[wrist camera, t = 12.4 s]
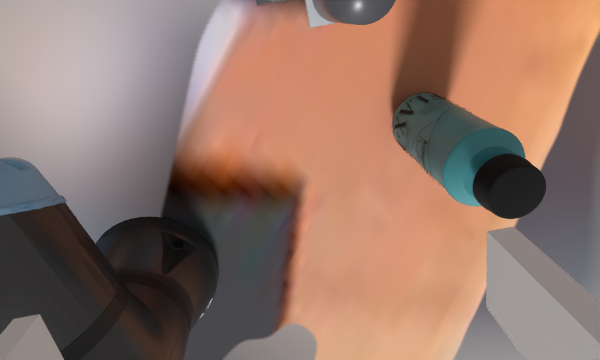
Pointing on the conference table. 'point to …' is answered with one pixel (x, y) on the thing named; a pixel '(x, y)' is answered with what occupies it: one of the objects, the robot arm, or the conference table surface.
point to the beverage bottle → (469, 156)
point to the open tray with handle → (346, 11)
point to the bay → (267, 2)
